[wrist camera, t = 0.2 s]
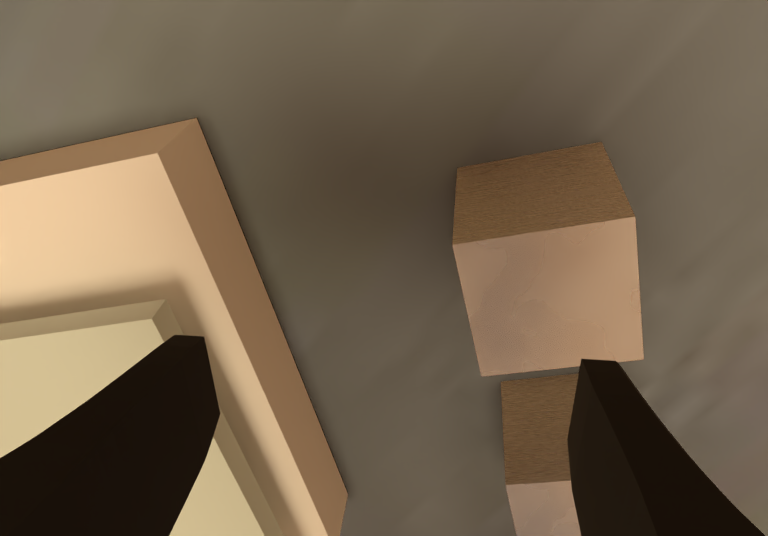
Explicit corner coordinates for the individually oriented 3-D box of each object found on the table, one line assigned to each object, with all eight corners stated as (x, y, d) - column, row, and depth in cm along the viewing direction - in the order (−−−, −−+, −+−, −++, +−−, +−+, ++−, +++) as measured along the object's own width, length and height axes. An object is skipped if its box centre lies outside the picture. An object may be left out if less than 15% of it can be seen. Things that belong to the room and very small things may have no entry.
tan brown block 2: (626, 451, 26) (655, 564, 22) (516, 459, 27) (523, 569, 23) (619, 367, 24) (650, 475, 20) (500, 380, 25) (505, 485, 21)
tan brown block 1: (611, 263, 22) (643, 359, 17) (480, 281, 23) (481, 376, 18) (601, 140, 20) (635, 216, 15) (457, 167, 21) (452, 245, 16)
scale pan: (299, 566, 26) (293, 590, 25) (6, 578, 29) (-8, 600, 28) (165, 298, 19) (151, 318, 18) (-191, 352, 22) (-217, 372, 22)
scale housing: (348, 494, 29) (333, 564, 26) (51, 514, 33) (9, 578, 30) (196, 117, 21) (149, 159, 18) (-185, 202, 24) (-277, 248, 21)
